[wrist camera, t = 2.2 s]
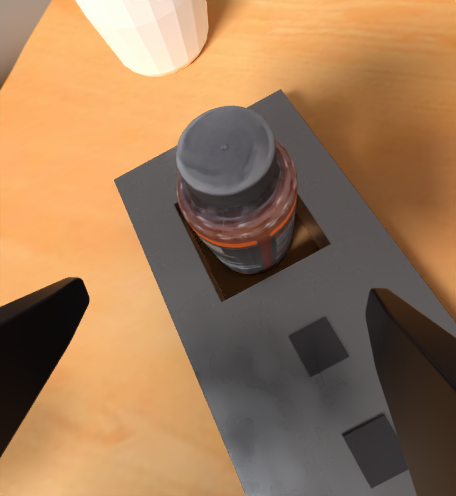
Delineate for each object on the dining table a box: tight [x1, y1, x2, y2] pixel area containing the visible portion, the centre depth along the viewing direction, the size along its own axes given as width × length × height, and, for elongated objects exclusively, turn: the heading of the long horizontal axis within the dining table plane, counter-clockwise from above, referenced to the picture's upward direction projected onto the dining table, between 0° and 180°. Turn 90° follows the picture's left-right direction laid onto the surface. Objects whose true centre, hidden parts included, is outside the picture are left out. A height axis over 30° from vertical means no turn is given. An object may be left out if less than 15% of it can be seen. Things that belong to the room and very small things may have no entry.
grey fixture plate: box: [114, 89, 456, 496], centre depth 19 cm, size 26×14×3 cm, turn 27°
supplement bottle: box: [176, 106, 298, 274], centre depth 17 cm, size 6×6×11 cm
